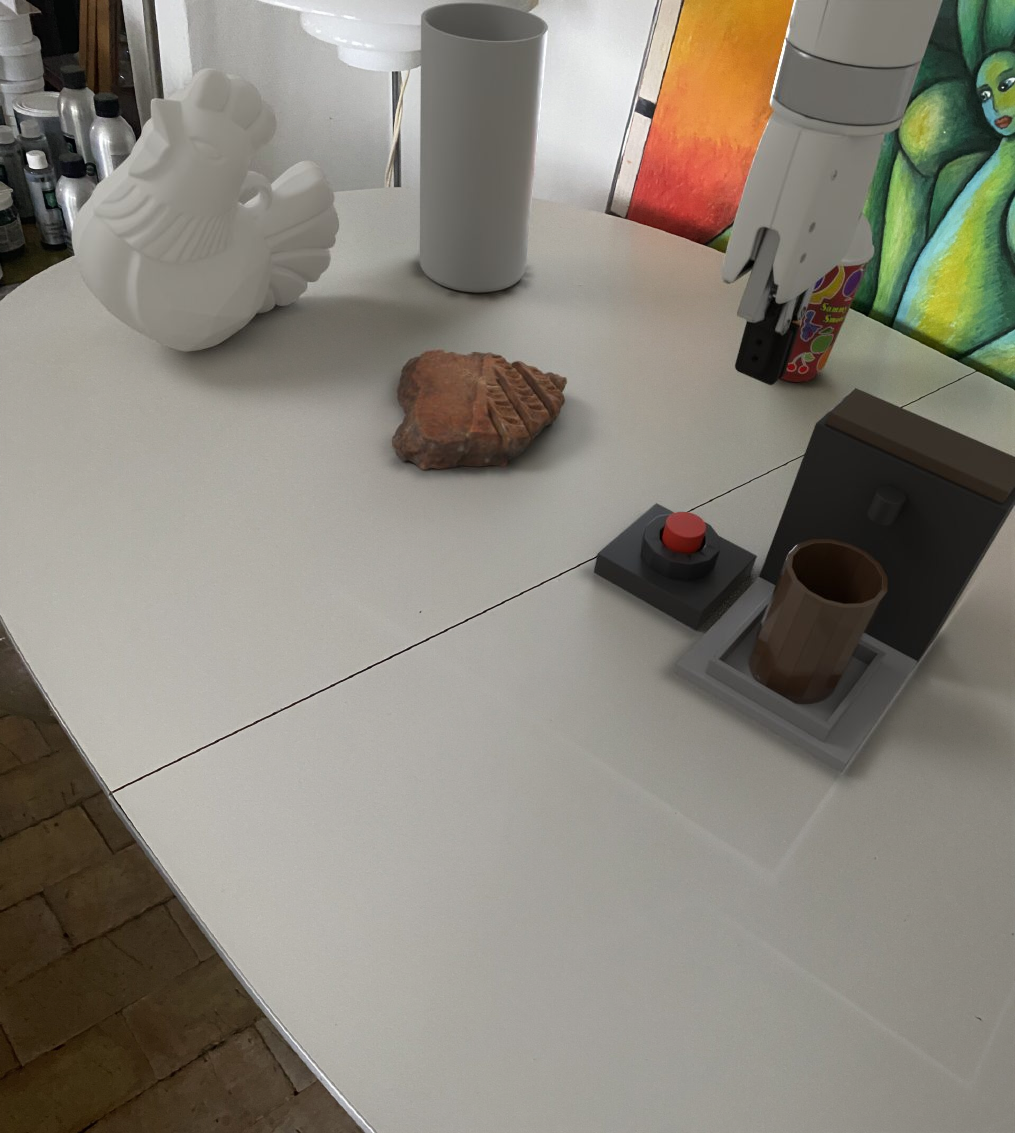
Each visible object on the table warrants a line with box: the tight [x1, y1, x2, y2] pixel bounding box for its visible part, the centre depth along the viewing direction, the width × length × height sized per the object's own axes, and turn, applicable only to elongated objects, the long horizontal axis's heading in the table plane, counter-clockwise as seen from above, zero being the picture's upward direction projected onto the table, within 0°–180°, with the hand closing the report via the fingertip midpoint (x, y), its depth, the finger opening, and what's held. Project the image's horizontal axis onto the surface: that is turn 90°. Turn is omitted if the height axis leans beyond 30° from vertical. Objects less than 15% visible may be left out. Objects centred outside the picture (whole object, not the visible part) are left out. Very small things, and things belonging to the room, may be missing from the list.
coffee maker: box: [674, 387, 1015, 773], centre depth 68 cm, size 14×18×17 cm
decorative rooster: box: [71, 67, 340, 352], centre depth 92 cm, size 25×16×25 cm
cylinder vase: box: [419, 2, 549, 293], centre depth 103 cm, size 12×12×25 cm
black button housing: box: [593, 502, 758, 632], centre depth 78 cm, size 10×9×4 cm
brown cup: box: [748, 539, 888, 704], centre depth 68 cm, size 7×7×10 cm
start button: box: [662, 511, 706, 554], centre depth 76 cm, size 3×3×2 cm
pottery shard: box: [391, 349, 568, 471], centre depth 91 cm, size 16×16×4 cm
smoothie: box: [779, 212, 875, 383], centre depth 96 cm, size 8×8×20 cm
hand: (758, 373), depth 68 cm, fingers closed
